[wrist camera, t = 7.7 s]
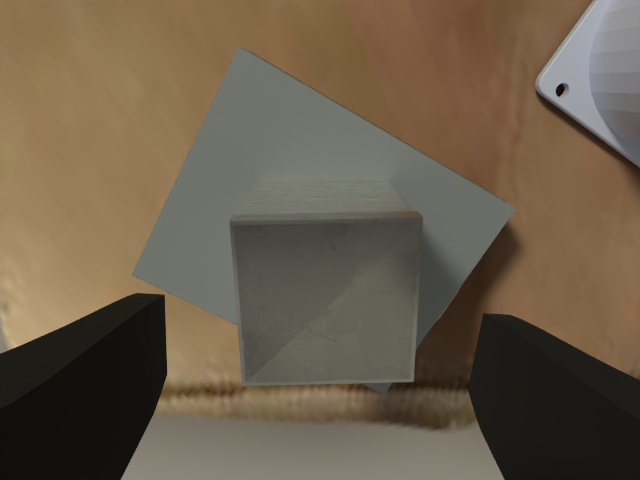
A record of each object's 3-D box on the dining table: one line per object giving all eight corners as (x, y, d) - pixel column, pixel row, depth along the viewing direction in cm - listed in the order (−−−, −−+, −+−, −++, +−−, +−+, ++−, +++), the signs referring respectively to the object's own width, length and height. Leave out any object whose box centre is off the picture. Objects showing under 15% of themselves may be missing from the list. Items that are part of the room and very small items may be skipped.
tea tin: (390, 177, 16) (423, 217, 12) (386, 302, 18) (413, 382, 13) (252, 180, 16) (229, 220, 12) (260, 304, 18) (242, 385, 13)
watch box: (488, 190, 20) (523, 212, 17) (378, 350, 23) (390, 397, 19) (251, 52, 18) (238, 46, 15) (160, 244, 21) (131, 275, 17)
